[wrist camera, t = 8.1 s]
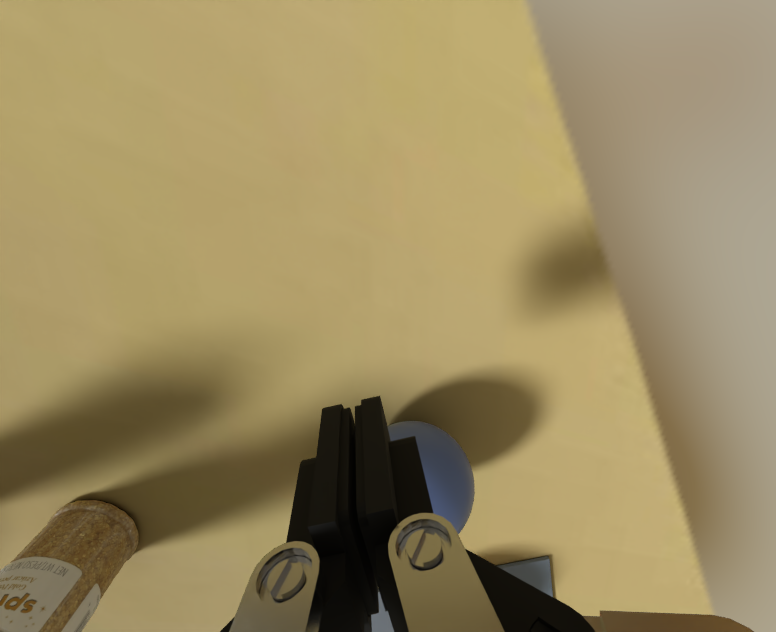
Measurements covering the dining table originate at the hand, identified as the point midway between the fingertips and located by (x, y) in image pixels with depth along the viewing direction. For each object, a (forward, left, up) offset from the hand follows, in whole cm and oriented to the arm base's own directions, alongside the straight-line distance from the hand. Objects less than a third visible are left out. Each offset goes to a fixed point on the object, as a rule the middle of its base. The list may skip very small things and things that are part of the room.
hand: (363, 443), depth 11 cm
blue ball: (+6, +1, -5) cm, 8 cm away
